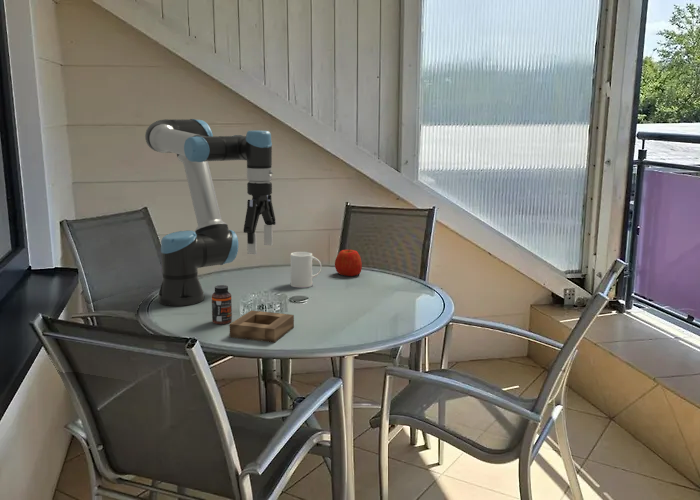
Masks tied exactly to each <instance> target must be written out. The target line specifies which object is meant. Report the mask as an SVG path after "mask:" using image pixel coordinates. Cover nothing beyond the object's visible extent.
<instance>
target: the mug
mask: <svg viewBox="0 0 700 500" xmlns="http://www.w3.org/2000/svg"><path fill="white" fill-rule="evenodd" d="M313 261H316V262H318V264H319V266H320V269H319V271H318V272H317V273H316V274H315V273H314V274H313ZM322 269H323V268H322V262H321V261H320V260H319V259H318V258H317V257H315V256H314V255H313V253H312V252H308V251H295V252H291V253H290V284H289V286H291V287H292V288H297V289H299V288H300V289H303V288H305V289H307V288H311V287H312V286H314V283H313V279H314V278H317V277H318V276H319V275H320V274H321V272H322Z"/></svg>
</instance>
